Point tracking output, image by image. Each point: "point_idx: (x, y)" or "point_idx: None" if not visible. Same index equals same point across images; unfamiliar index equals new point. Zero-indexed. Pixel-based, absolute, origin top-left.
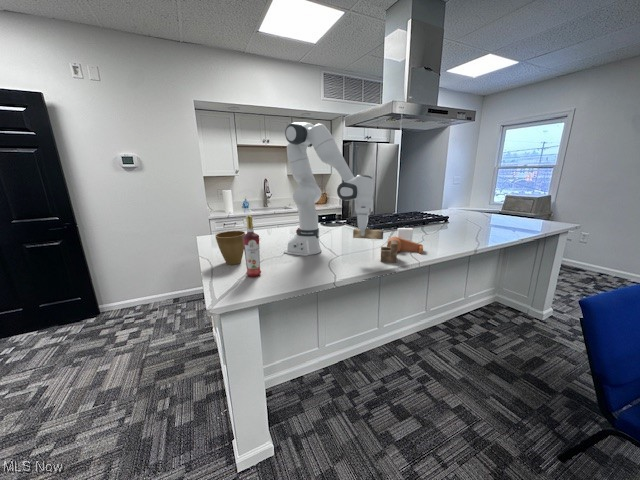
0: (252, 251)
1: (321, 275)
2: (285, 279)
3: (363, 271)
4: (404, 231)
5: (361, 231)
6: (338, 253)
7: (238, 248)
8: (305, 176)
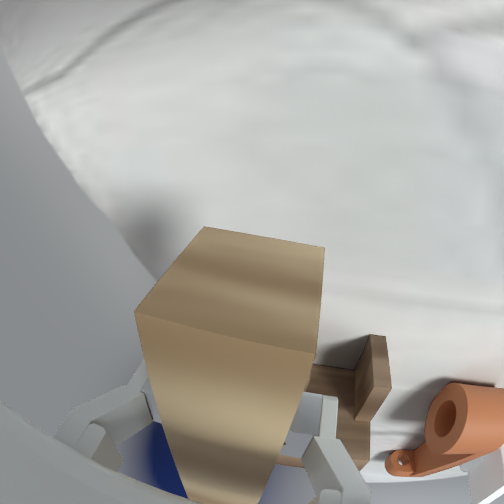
0: None
1: (56, 15)
2: None
3: (129, 211)
4: (489, 485)
5: (106, 400)
6: (483, 58)
7: None
8: None
